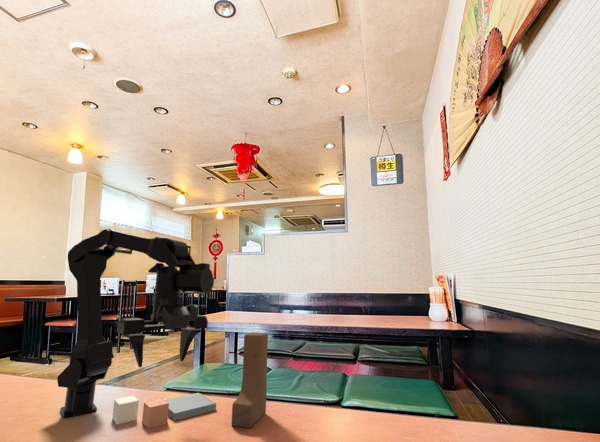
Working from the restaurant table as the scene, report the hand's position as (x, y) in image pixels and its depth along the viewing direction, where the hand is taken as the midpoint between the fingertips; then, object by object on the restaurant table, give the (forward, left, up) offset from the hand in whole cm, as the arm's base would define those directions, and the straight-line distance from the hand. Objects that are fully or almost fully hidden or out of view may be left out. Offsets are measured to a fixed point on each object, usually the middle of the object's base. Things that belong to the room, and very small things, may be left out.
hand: (161, 363), depth 73 cm
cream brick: (-6, -5, -12) cm, 14 cm away
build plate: (-3, +8, -12) cm, 15 cm away
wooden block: (+12, +16, -12) cm, 23 cm away
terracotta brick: (0, 0, -12) cm, 12 cm away
